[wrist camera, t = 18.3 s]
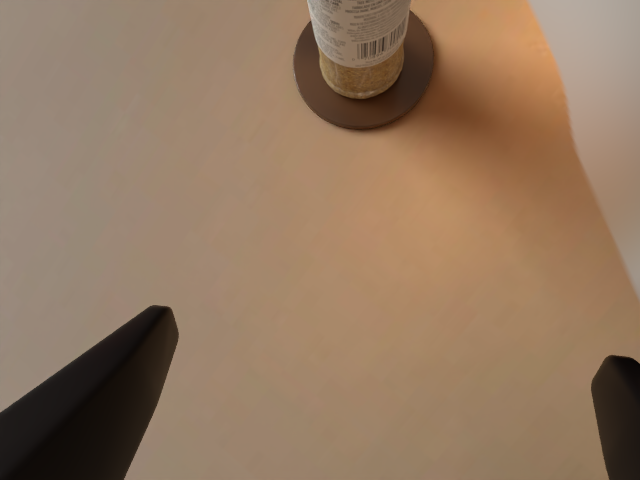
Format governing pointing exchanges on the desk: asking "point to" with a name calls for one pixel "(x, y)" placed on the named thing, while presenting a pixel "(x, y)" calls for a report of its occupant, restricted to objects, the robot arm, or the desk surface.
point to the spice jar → (360, 43)
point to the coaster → (373, 108)
